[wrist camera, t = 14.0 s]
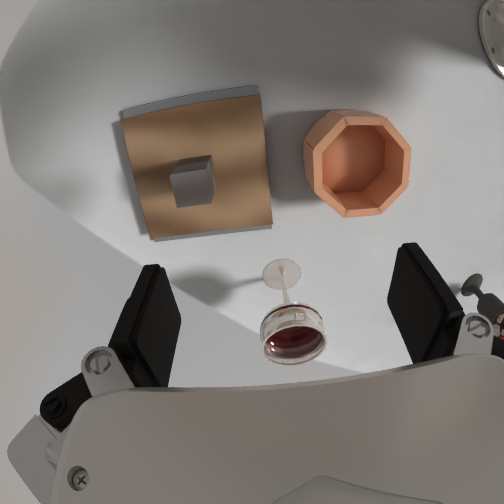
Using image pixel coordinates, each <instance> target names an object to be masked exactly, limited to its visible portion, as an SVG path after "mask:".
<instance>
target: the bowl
mask: <svg viewBox="0 0 504 504" xmlns="http://www.w3.org/2000/svg"><path fill="white" fill-rule="evenodd" d="M303 143H304V146H303V162H304V166H305V177H306V179H307V181H308V182H309V184H310V186H311V187H312V189H313V191H314V192H315V194H317V195H318V196H319V197H320V198H321V199H322V200H324V201H325V202H326V203H327V204H328V205H329V206H330V207H332V208H333V209H334V210H335V211H336V212H337V213H338V214H340V215H341V216H342V217H344V218H348V217H359V216H371V215H380V213H381V214H382V213H383V212H384V211H385V210H386V209H387V208H388V207H389V206H390V205H391V204H392V203H393V202H394V201H395V200H396V199H397V198H398V197H399V196H400V195H401V194H402V193H403V192H404V191H405V190H406V189H407V188H408V187H407V186H408V183H409V172H410V159H411V148H410V146H409V144H408V143H407V142H406V141H405V139H404V138H403V137H402V136H401V134H400V133H399V132H398V131H397V130H396V128H395V127H394V126H393V125H392V124H391V123H390V121H389V120H388V119H387V118H386V117H383V116H381V115H378V114H375V113H372V112H369V111H355V110H338V111H331V112H330V111H329V112H328V113H327V114H326V115H325V116H323V117H322V118H320V119H319V120H318V121H317V122H316V123H315V124H314V125H313V126H312V127H311V129H310V130H309V132H308V134H307V136H306V137H305V138H304V140H303Z"/></svg>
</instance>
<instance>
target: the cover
mask: <svg viewBox="0 0 504 504" xmlns="http://www.w3.org/2000/svg"><path fill="white" fill-rule="evenodd" d="M121 123H122V128H123V133H124V137H125V142H126V146H127V151H128V155H129V159H130V163H131V167H132V171H133V175H134V179H135V183H136V187H137V191H138V195H139V198H140V202H141V206H142V209H143V213H144V216H145V220H146V223H147V227H148V230H149V233H150V237H151V239H154V238H161V237H169V236H177V235H185V234H193V233H201V232H210V231H218V230H227V229H236V228H245V227H254V226H263V225H272V224H273V221H272V210H271V198H270V187H269V177H268V166H267V156H266V146H265V136H264V126H263V117H262V108H261V99H260V95H252V96H242V97H234V98H226V99H219V100H212V101H206V102H200V103H194V104H188V105H183V106H178V107H173V108H168V109H163V110H159V111H154V112H150V113H146V114H141V115H137V116H133V117H130V118H126V119H123V120H121Z"/></svg>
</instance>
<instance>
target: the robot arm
mask: <svg viewBox="0 0 504 504" xmlns="http://www.w3.org/2000/svg"><path fill="white" fill-rule="evenodd" d="M479 30H480V35H481V40H482V43H483V46H484V49H485V51H486V53H487V56H488V58H489V60H490V61H491V63H492V65H493V66H494V68H495V69H496V70H497V72H498V73H499V74H500V75H501V76H502V77H503V78H504V1H503V0H488V1H486V2H485V3H484V4H483V5H482V7H481V9H480V14H479ZM387 303H388V306H389V308H390V311H391V313H392V315H393V317H394V319H395V322H396V324H397V326H398V328H399V331H400V333H401V335H402V338H403V340H404V342H405V345H406V347H407V350H408V352H409V355H410V357H411V360H412V362H413V364H411V365H406V366H402V367H397V368H392V369H387V370H382V371H376V372H371V373H365V374H359V375H353V376H347V377H339V378H332V379H326V380H325V379H324V380H317V381H307V382H298V383H288V384H276V385H261V386H243V387H203V388H202V387H196V388H195V387H194V388H178V387H177V388H175V387H170V388H169V387H168V383H169V378H170V373H171V368H172V363H173V358H174V353H175V349H176V343H177V339H178V335H179V330H180V325H181V316H180V313H179V310H178V307H177V304H176V301H175V298H174V296H173V292H172V290H171V286H170V283H169V280H168V277H167V274H166V271H165V269H164V268H163V267H160V265H159V264H151V265H144V267H143V269H142V271H141V274H140V276H139V278H138V280H137V282H136V285H135V287H134V289H133V291H132V294H131V296H130V298H129V299H128V300H127V301H126V303H125V305H124V308H123V310H122V313H121V315H120V317H119V320H118V322H117V325H116V327H115V330H114V332H113V335H112V337H111V339H110V342H109V345H108V347H104V346H102V347H97V348H94V349H92V350H91V351H89V352H88V353H87V354H86V355H85V356H84V358H83V360H82V363H81V369H82V372H81V373H80V374H78V375H77V376H75V377H73V378H72V379H70V380H69V381H67V382H66V383H64V384H63V385H61V386H59V387H58V388H56V389H55V390H53V391H52V392H50V393H49V394H47V395H46V396H45V397H44V399H43V400H42V402H41V405H40V415H39V416H36V415H35V416H34V417H33V418H32V419H31V420H30V421H29V422H28V423H27V424H26V426H25V427H24V428H23V429H22V430H21V431H20V433H19V434H17V436H16V437H15V438H14V439H13V440H12V441H11V443H10V444H9V446H8V450H7V452H8V458H9V460H10V462H11V464H12V465H13V467H14V468H15V470H16V471H17V472H18V474H19V475H20V477H21V478H22V480H23V481H24V482H25V484H26V485H27V486H28V488H29V489H30V490H31V492H32V493H33V494H34V496H35V497H36V498H37V499H38V501H39V502H40V503H41V504H504V340H503V339H501V338H499V337H497V336H495V335H494V328H493V326H492V323H491V322H490V321H489V319H487V318H486V317H485V316H483V315H481V314H479V313H469V314H466V315H465V314H464V312H463V308H462V306H461V305H460V303H459V302H458V300H457V299H456V297H455V296H454V294H453V293H452V291H451V290H450V288H449V287H448V285H447V284H446V282H445V281H444V279H443V278H442V277H441V275H440V274H439V272H438V271H437V269H436V268H435V267H434V265H433V264H432V263H431V261H430V260H429V258H428V257H427V256H426V254H425V253H424V252H423V250H422V249H421V248H420V247H419V245H418V244H417V243H415V242H414V243H404V244H402V246H401V247H400V248H398V251H397V256H396V261H395V266H394V271H393V275H392V280H391V284H390V289H389V293H388V297H387Z"/></svg>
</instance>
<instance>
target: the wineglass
mask: <svg viewBox="0 0 504 504" xmlns="http://www.w3.org/2000/svg"><path fill="white" fill-rule="evenodd" d="M300 277H301V270H300V267H299V266H298V264H296V263H295V262H294V261H291V260H288V259H280V260H275V261H273V262H271V263H270V264H269V265H268V266H267V267H266V268H265V270H264V272H263V279H264V282H265V283H266V284H267V285H268V286H269V287H271V288H273V289H277V290H283V298H284V303H283V304H280V305H278V306H276V307H274V308H272V309H271V310H270V311H269V312H268V313H267V314H266V316H265V317H264V319H263V321H262V323H261V328H260V338H261V341H262V349H261V350H262V353H263V356H264V357H265V358H266V359H267V360H268V361H270V362H272V363H274V364H277V365H282V366H296V365H301V364H305V363H307V362H310V361H312V360H314V359H315V358H317V357H318V356H320V355H321V353H322V352H323V351H324V350H325V348H326V345H327V337H326V335H325V334H324V325H323V321H322V318H321V316H320V315H319V314H318V312H317V311H316V310H315V309H314V308H312V307H311V306H309V305H308V304H304V303H300V302H290V300H289V296H288V292H287V289H288V288H290V287H292V286H294V285H295V284H296V283H297V282H298V281H299V279H300Z"/></svg>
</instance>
